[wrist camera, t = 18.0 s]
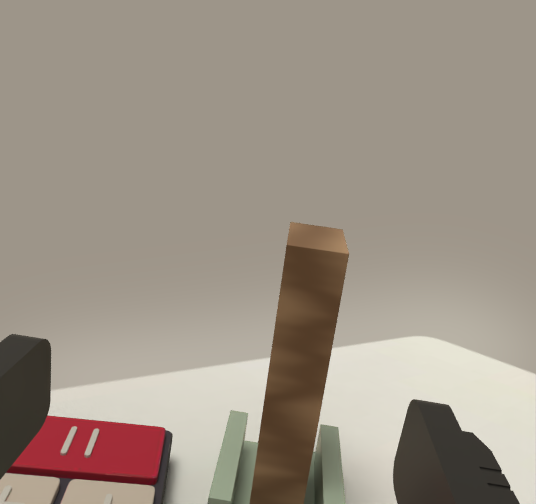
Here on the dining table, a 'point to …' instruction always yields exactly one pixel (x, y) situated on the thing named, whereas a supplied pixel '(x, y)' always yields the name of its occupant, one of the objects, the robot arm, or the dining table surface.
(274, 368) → the tall board
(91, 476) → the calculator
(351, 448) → the dining table surface
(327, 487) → the board holder
